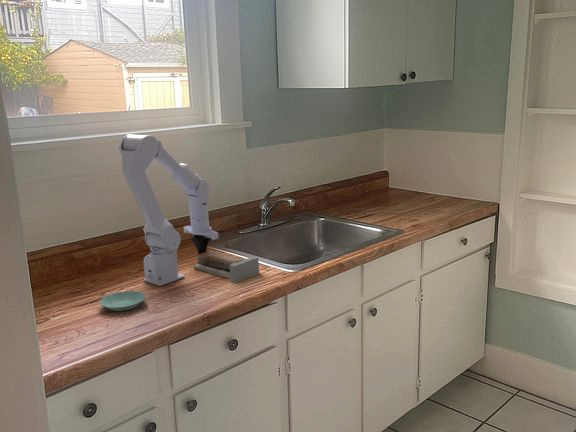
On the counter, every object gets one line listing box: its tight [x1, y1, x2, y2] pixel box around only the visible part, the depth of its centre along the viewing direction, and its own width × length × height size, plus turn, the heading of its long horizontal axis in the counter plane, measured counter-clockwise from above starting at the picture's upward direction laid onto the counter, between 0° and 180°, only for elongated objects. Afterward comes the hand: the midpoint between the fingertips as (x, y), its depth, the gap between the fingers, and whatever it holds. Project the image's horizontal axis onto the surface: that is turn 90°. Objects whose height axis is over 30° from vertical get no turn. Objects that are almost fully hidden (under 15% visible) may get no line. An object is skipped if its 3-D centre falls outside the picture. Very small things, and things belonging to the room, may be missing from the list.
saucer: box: [99, 290, 147, 312], centre depth 156 cm, size 12×12×2 cm
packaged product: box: [193, 250, 246, 280], centre depth 181 cm, size 18×5×10 cm
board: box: [229, 256, 260, 283], centre depth 173 cm, size 10×2×5 cm, turn 138°
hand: (202, 257), depth 186 cm, fingers closed, pressing on packaged product
